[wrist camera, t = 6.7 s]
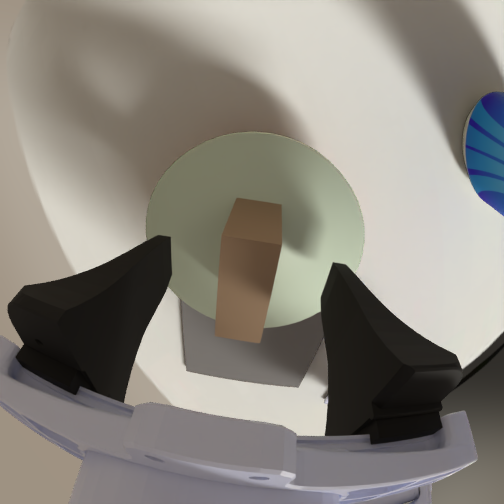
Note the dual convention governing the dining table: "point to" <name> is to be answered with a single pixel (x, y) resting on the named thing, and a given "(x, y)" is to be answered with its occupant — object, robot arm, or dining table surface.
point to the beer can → (486, 149)
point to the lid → (255, 230)
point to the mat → (251, 350)
